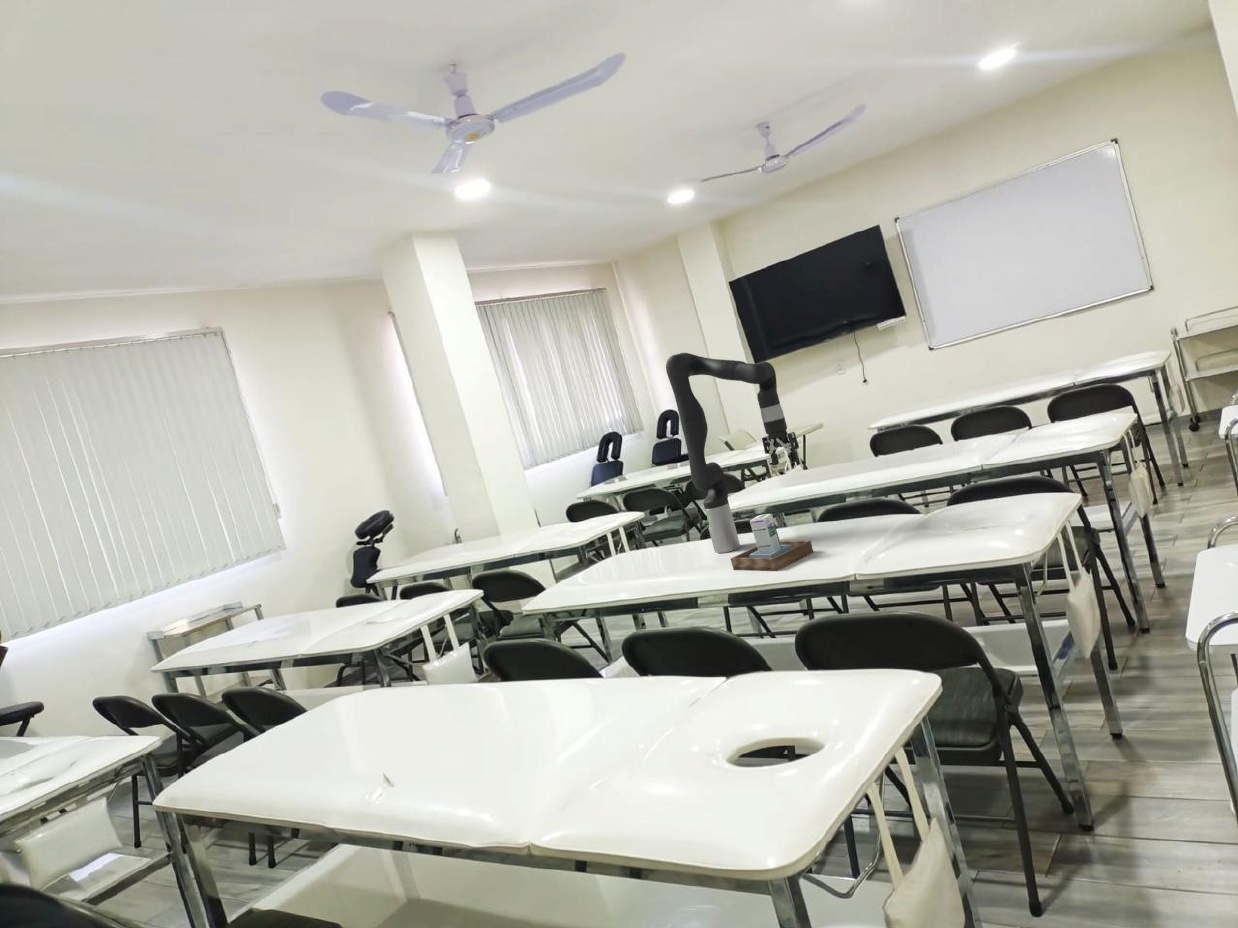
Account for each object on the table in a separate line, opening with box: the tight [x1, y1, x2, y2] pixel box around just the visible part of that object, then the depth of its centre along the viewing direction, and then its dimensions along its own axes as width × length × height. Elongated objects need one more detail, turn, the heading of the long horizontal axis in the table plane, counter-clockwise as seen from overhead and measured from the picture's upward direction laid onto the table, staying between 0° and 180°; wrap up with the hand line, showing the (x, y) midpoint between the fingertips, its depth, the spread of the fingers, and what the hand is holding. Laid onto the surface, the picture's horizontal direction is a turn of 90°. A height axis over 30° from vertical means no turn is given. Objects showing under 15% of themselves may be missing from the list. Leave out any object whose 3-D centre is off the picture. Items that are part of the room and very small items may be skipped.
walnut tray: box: [730, 540, 814, 572], centre depth 270 cm, size 20×18×4 cm
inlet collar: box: [749, 545, 792, 558], centre depth 270 cm, size 10×10×3 cm
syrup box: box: [749, 513, 782, 554], centre depth 270 cm, size 6×6×14 cm
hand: (785, 463), depth 284 cm, fingers open, 8 cm apart
